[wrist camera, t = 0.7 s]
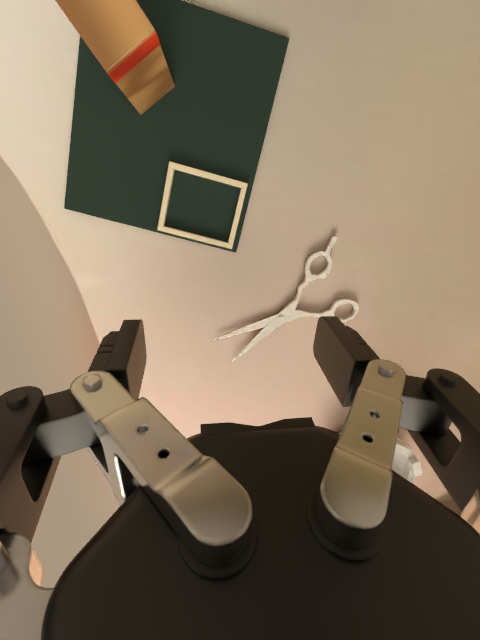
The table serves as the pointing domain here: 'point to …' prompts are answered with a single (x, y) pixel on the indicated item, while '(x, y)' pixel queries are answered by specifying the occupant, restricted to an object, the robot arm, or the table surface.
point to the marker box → (123, 47)
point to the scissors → (290, 309)
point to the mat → (178, 129)
